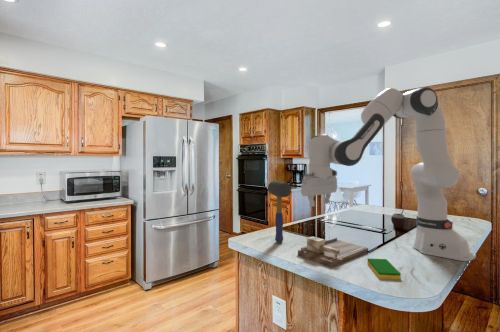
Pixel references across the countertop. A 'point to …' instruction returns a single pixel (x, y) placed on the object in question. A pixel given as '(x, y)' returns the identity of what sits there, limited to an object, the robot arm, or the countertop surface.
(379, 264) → the dish sponge
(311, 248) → the marking gauge
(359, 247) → the walnut board
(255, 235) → the countertop surface
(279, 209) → the rubber mallet
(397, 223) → the mate gourd
